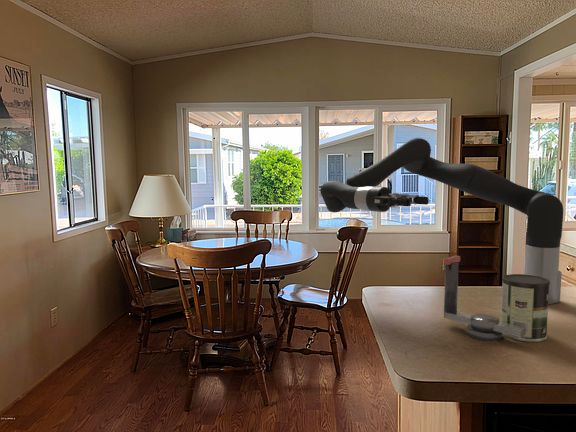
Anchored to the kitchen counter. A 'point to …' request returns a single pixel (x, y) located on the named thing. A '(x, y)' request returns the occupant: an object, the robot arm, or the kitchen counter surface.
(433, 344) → the kitchen counter surface
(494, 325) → the crank
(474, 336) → the base
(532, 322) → the coffee can
